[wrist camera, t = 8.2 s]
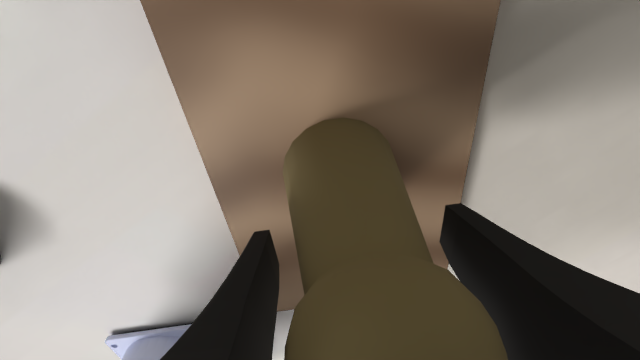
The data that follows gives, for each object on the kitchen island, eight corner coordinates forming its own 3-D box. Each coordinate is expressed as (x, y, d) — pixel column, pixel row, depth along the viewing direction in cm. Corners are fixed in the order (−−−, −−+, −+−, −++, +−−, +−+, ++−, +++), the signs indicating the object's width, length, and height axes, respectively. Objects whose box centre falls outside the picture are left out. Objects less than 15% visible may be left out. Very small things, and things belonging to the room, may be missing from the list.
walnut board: (435, 272, 22) (443, 288, 21) (264, 296, 22) (262, 313, 21) (496, -106, 10) (524, -122, 9) (136, -56, 10) (114, -66, 9)
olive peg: (258, 161, 14) (184, 459, 5) (359, 92, 13) (546, 325, 3) (323, 230, 17) (357, 503, 7) (411, 181, 15) (591, 442, 6)
